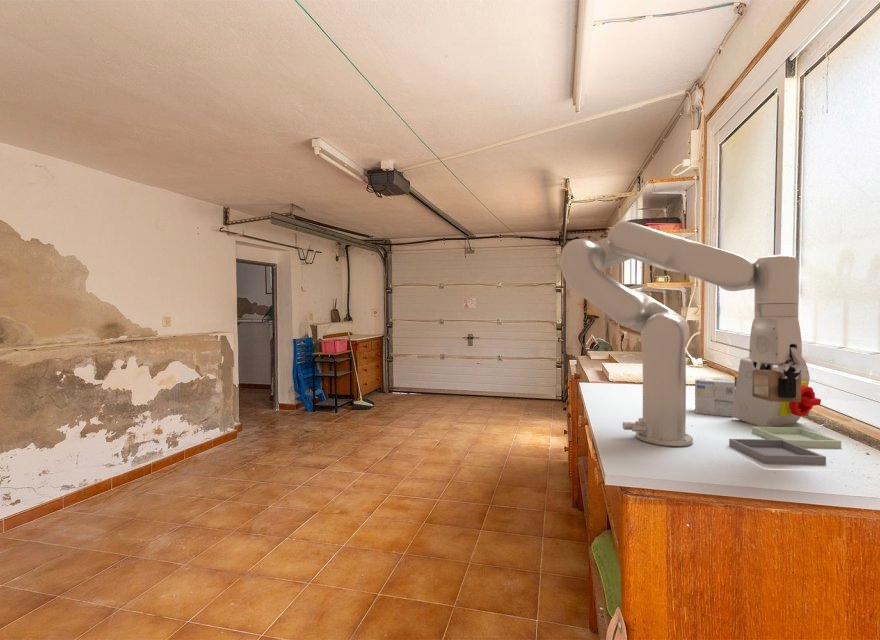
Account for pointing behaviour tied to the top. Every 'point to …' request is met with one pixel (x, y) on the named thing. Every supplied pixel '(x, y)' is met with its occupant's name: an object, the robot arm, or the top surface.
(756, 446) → the grey tray
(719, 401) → the light bulb box
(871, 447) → the top surface
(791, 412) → the electrical switch box
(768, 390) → the letter block
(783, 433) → the green tray
